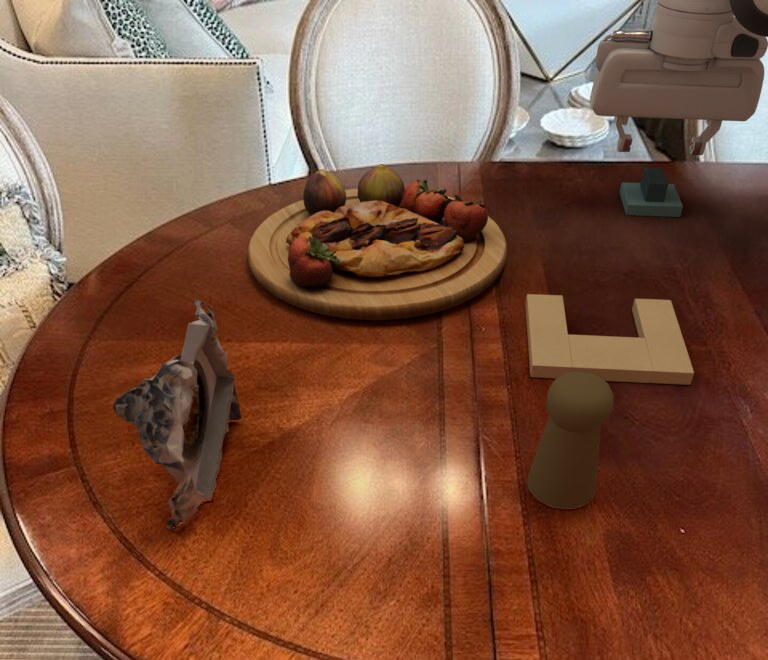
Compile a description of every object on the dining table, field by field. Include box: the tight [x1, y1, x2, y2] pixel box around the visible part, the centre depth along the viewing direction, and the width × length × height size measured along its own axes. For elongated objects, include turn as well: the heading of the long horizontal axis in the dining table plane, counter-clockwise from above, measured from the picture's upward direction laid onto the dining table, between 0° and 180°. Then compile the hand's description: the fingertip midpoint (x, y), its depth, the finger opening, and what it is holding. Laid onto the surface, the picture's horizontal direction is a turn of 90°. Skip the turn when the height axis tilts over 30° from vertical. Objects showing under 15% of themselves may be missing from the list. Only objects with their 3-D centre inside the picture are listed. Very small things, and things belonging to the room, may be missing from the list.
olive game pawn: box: [526, 372, 614, 509], centre depth 65 cm, size 6×6×11 cm
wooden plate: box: [246, 163, 508, 321], centre depth 95 cm, size 32×32×8 cm
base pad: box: [525, 293, 695, 386], centre depth 84 cm, size 16×14×2 cm
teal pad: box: [619, 167, 684, 218], centre depth 107 cm, size 7×7×4 cm
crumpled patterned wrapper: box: [112, 298, 242, 531], centre depth 65 cm, size 15×4×13 cm, turn 174°
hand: (659, 152), depth 103 cm, fingers open, 8 cm apart
